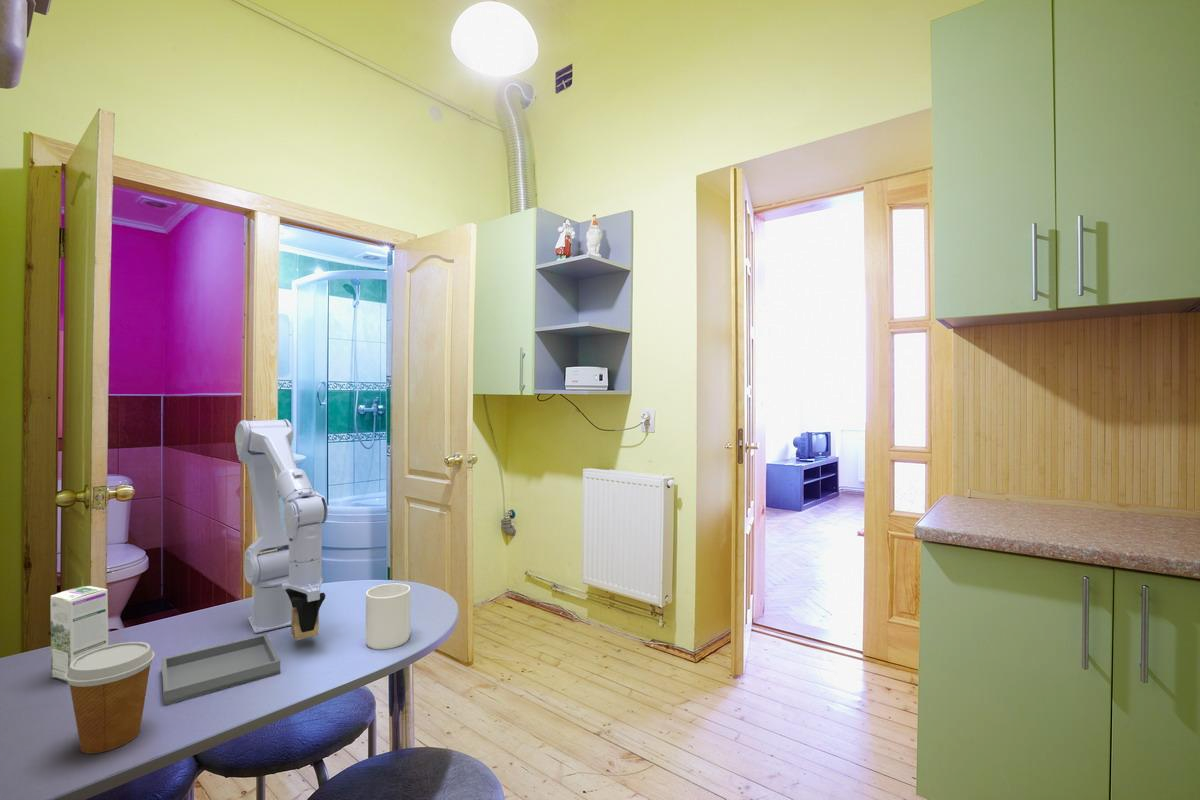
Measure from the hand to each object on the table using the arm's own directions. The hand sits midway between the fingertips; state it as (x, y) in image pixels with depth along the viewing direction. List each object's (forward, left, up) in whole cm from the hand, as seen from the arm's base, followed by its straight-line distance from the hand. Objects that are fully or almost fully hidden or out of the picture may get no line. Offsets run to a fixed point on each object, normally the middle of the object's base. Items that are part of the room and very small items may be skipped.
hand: (304, 626), depth 108 cm
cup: (+7, +13, -4) cm, 15 cm away
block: (0, 0, -1) cm, 1 cm away
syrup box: (-12, -33, -4) cm, 35 cm away
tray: (+3, -14, -3) cm, 15 cm away
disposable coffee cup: (+16, -28, -4) cm, 32 cm away
